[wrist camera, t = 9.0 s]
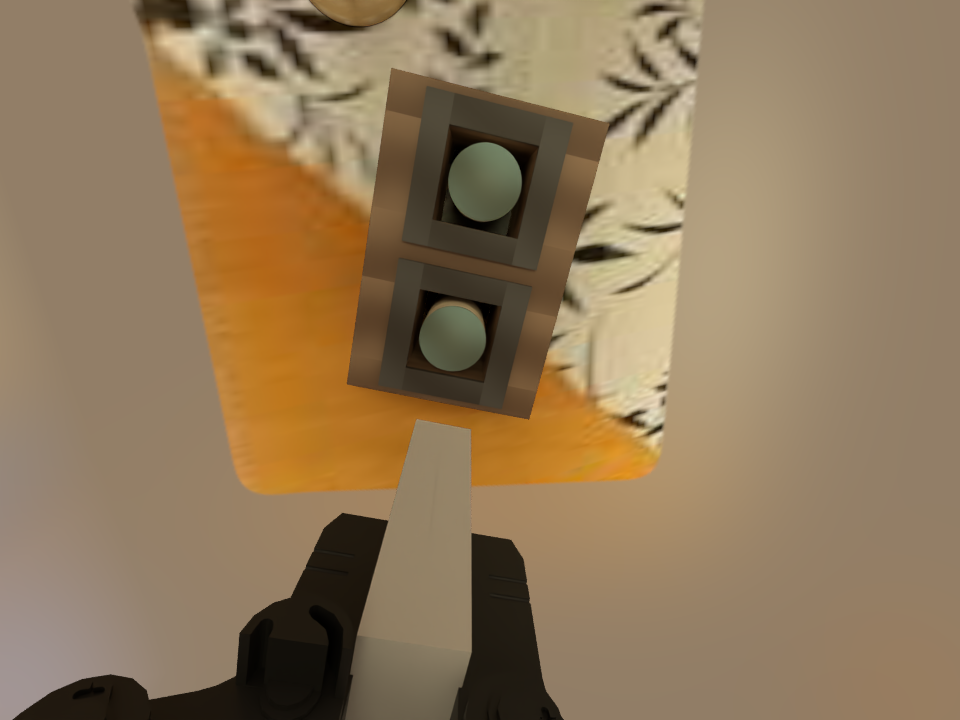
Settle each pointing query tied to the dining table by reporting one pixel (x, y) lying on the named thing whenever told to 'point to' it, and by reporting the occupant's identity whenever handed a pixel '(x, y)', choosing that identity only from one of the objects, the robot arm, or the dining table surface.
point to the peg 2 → (453, 333)
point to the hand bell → (358, 10)
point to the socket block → (469, 242)
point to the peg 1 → (484, 182)
